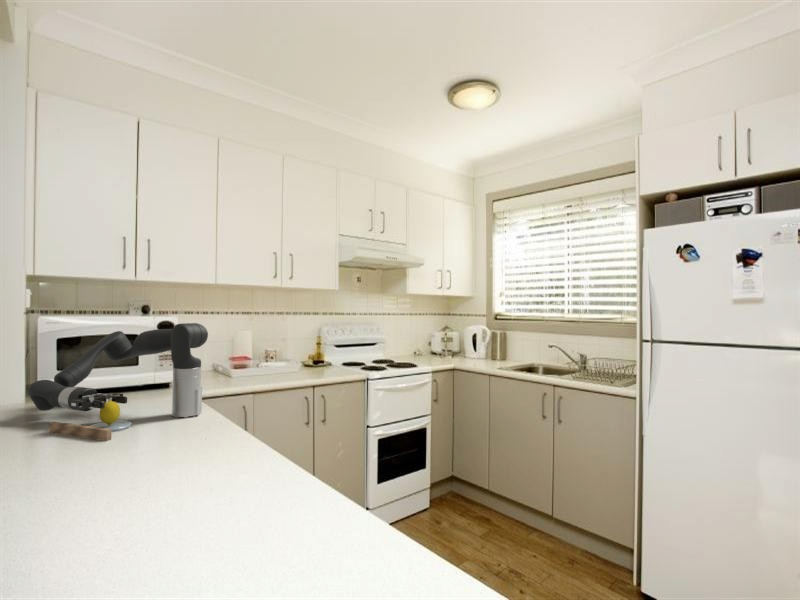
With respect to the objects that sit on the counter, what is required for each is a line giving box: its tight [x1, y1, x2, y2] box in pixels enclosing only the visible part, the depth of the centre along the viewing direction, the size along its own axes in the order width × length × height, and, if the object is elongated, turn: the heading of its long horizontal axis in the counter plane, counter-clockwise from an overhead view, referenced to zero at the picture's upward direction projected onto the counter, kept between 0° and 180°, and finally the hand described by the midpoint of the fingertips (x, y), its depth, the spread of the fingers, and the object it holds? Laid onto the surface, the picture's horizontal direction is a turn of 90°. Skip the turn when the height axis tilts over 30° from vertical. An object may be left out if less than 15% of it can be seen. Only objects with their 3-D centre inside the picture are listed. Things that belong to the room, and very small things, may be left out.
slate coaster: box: [89, 420, 132, 433], centre depth 143 cm, size 12×12×1 cm
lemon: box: [99, 400, 121, 425], centre depth 143 cm, size 6×6×8 cm
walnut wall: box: [48, 421, 113, 442], centre depth 134 cm, size 24×2×3 cm, turn 71°
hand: (115, 402), depth 143 cm, fingers open, 7 cm apart
